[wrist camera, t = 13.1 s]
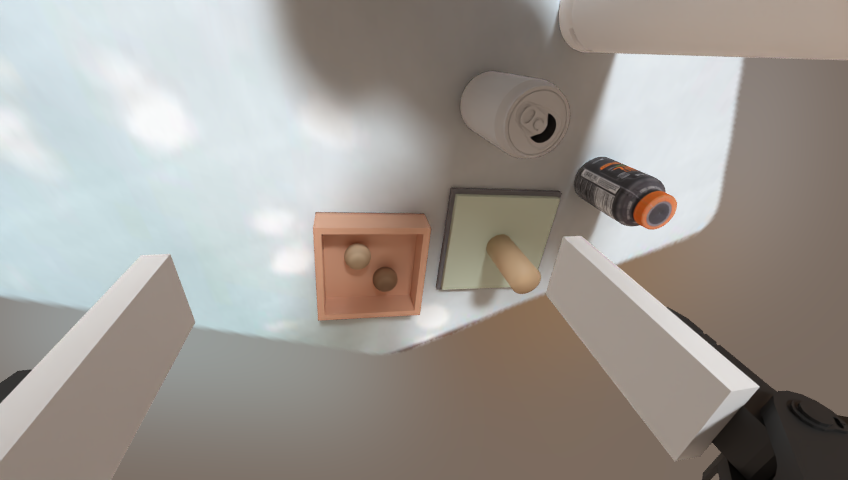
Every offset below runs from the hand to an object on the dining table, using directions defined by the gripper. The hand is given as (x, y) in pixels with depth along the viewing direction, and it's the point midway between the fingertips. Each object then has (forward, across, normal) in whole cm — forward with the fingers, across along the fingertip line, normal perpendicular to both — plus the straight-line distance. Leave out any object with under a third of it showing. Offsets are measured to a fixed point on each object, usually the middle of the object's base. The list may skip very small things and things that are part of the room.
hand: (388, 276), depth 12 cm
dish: (+28, +1, -18) cm, 33 cm away
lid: (+27, +18, -16) cm, 36 cm away
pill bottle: (+28, +30, -7) cm, 42 cm away
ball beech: (+26, -1, -16) cm, 30 cm away
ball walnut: (+26, +2, -19) cm, 32 cm away
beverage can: (+28, +14, +2) cm, 32 cm away
